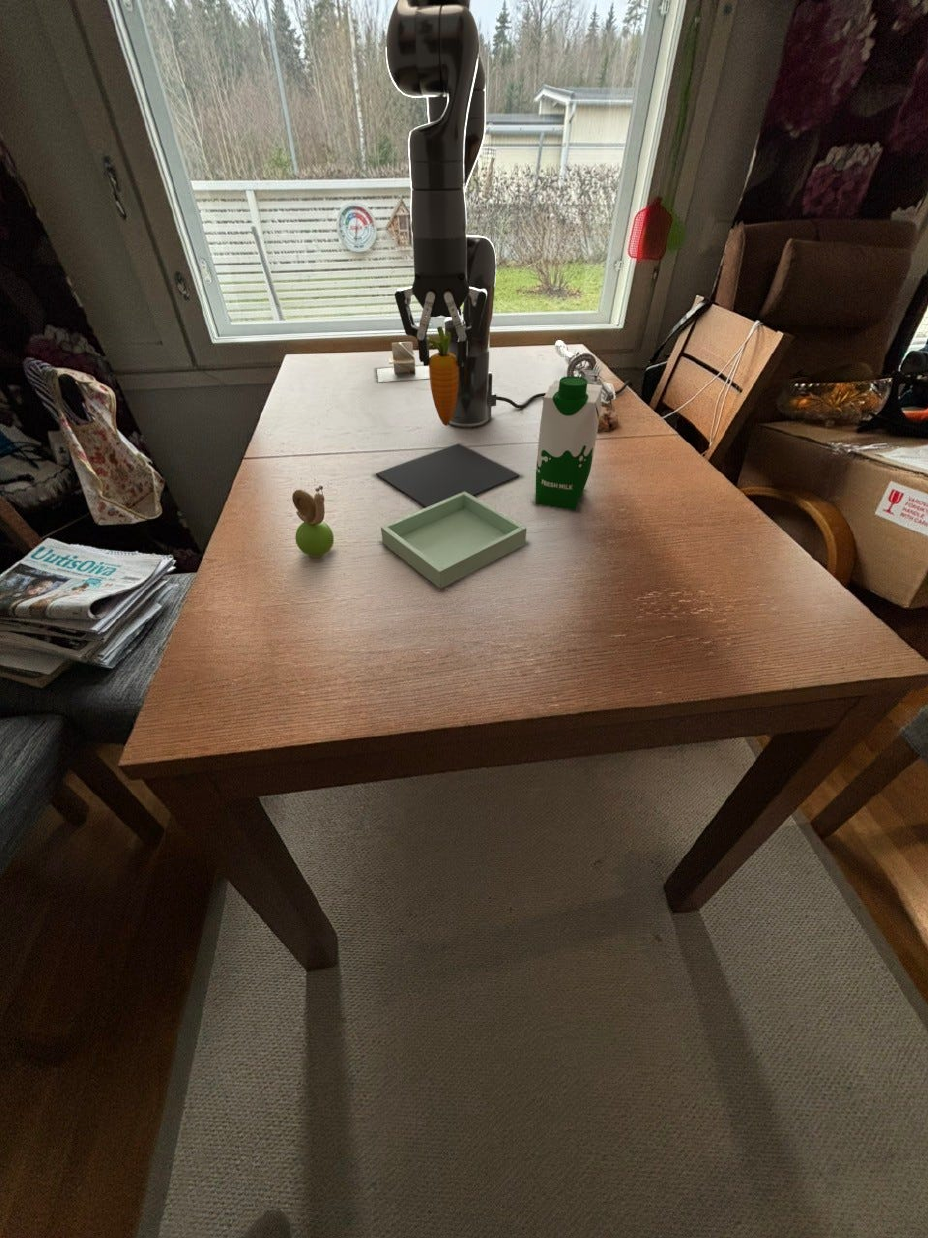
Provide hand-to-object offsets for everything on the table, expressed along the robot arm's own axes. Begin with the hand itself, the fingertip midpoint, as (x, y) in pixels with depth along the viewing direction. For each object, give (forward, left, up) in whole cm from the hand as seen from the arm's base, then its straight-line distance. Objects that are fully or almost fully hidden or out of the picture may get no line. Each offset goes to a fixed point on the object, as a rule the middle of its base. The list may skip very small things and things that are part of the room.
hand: (443, 364), depth 81 cm
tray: (+13, +18, -19) cm, 30 cm away
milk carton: (-10, +19, -20) cm, 29 cm away
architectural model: (-28, -54, -20) cm, 64 cm away
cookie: (-40, +2, -20) cm, 44 cm away
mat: (0, 0, -19) cm, 19 cm away
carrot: (0, 0, -10) cm, 10 cm away
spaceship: (-56, -16, -20) cm, 61 cm away
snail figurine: (+30, +7, -20) cm, 37 cm away
